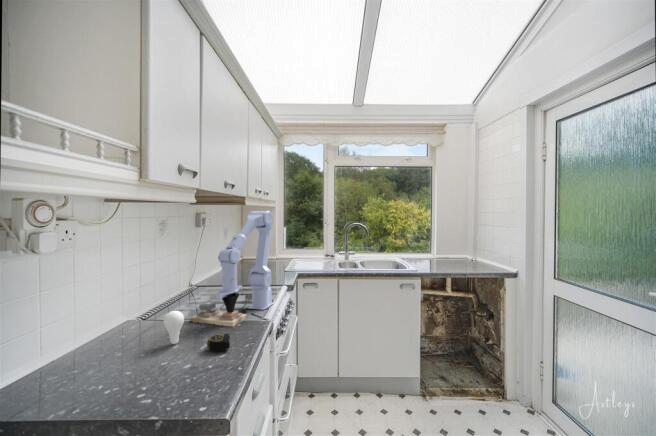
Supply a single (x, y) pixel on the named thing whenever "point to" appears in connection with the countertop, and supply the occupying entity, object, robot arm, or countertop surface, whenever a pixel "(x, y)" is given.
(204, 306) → the button charcoal
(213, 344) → the tape measure
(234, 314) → the button terracotta
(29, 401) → the countertop surface
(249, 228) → the robot arm
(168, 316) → the lightbulb
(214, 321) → the button mount
